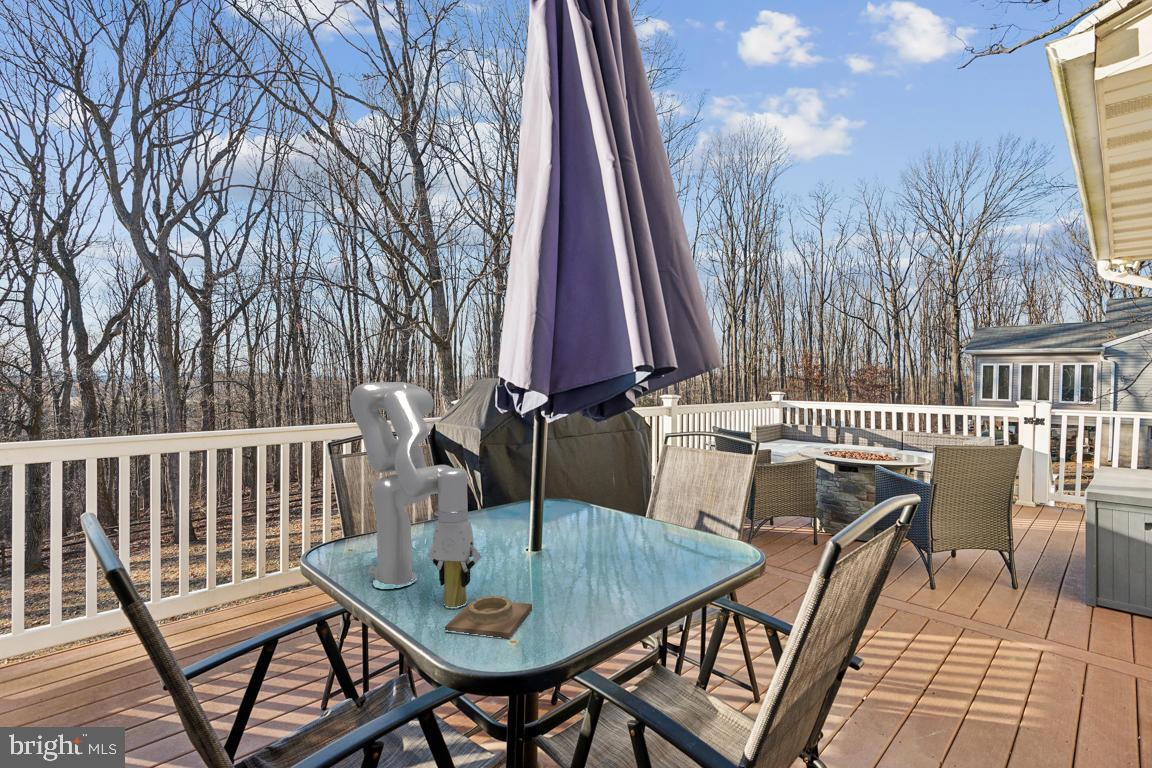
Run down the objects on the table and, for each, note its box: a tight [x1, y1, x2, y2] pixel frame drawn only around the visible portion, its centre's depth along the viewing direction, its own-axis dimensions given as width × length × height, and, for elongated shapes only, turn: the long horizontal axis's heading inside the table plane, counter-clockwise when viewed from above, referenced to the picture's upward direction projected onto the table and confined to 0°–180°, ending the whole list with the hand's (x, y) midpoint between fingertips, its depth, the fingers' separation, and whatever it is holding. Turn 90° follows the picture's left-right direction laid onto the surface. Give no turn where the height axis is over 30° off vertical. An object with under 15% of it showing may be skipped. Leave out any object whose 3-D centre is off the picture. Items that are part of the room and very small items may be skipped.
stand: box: [444, 595, 533, 640], centre depth 131 cm, size 16×16×4 cm
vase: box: [443, 561, 468, 607], centre depth 141 cm, size 6×6×14 cm
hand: (454, 583), depth 141 cm, fingers closed on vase, 5 cm apart
